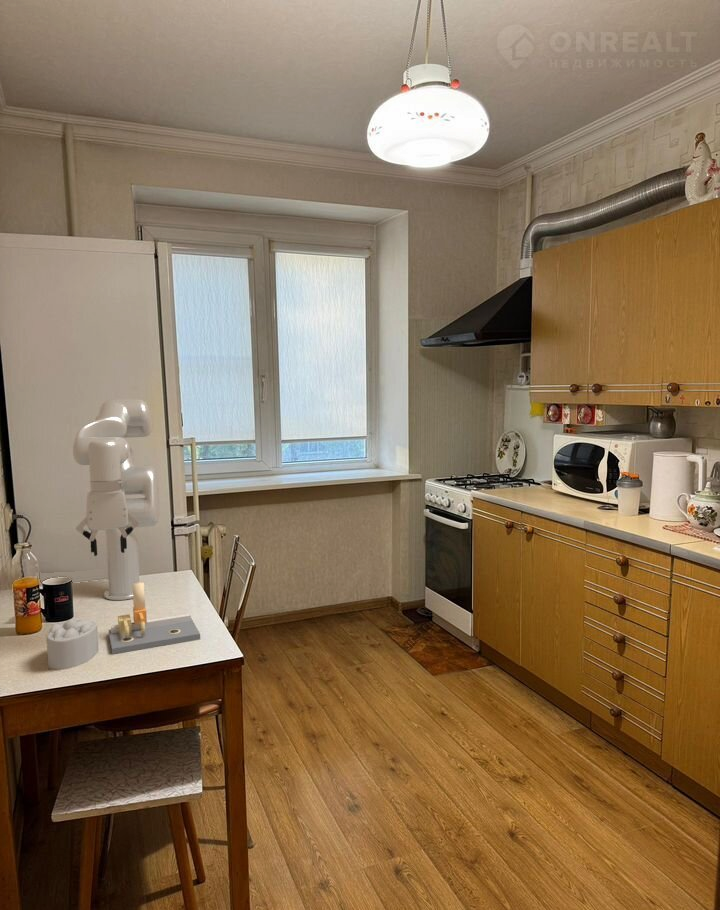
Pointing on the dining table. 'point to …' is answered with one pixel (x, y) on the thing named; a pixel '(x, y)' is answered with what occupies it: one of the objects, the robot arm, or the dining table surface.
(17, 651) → the dining table surface
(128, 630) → the plate
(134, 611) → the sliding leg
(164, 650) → the dining table surface
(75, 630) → the lumpy-topped squat cylinder
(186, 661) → the dining table surface
